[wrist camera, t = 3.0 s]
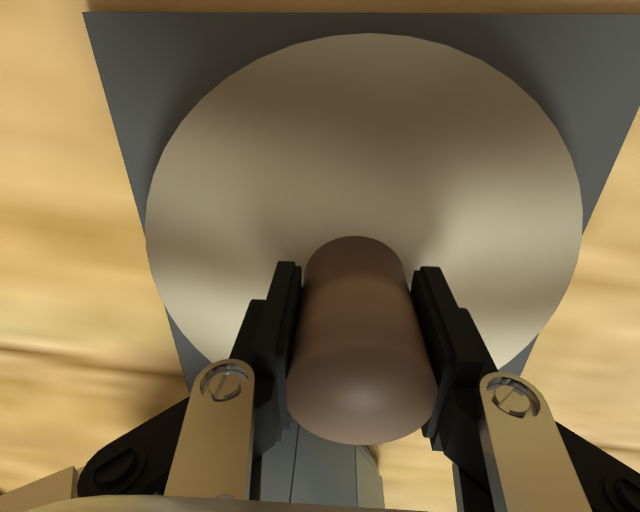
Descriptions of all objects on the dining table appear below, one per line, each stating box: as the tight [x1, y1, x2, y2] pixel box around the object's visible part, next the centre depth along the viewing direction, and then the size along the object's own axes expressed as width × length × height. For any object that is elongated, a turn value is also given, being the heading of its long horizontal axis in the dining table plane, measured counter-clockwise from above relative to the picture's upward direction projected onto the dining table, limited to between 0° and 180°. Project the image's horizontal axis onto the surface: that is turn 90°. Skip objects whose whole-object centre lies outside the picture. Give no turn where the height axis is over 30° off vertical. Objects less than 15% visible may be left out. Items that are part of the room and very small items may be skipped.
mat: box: [82, 12, 640, 392], centre depth 13 cm, size 16×16×1 cm
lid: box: [145, 33, 583, 445], centre depth 11 cm, size 15×15×6 cm
